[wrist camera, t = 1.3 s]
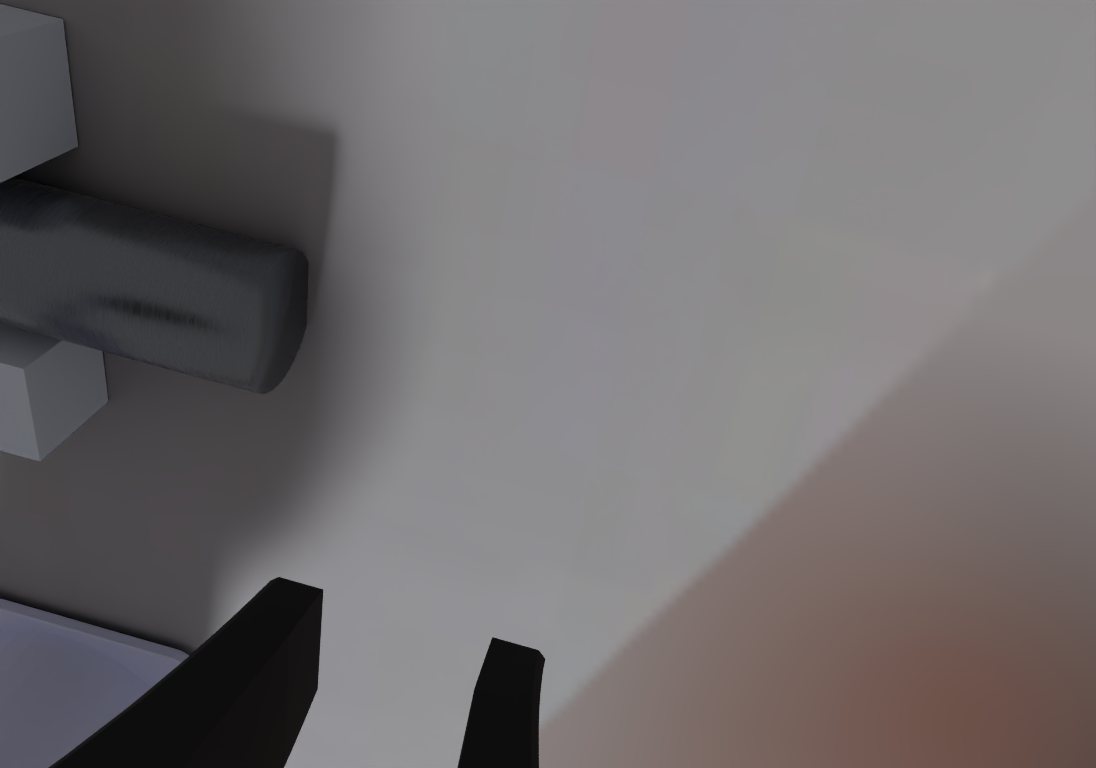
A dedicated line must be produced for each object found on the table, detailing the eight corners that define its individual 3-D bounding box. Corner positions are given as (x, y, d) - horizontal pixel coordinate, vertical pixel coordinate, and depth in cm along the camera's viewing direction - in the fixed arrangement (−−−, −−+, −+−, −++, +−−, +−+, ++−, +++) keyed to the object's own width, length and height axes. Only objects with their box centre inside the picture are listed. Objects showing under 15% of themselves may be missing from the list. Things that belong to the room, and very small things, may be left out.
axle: (311, 224, 18) (242, 296, 16) (310, 342, 20) (248, 422, 18) (-134, 111, 19) (-267, 163, 16) (-97, 235, 21) (-210, 298, 18)
